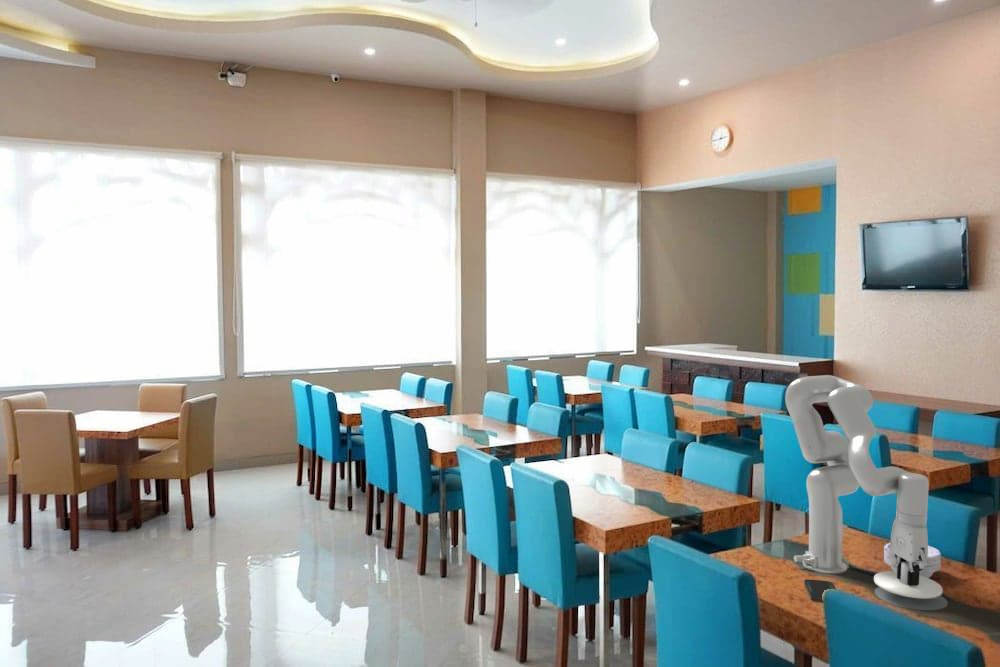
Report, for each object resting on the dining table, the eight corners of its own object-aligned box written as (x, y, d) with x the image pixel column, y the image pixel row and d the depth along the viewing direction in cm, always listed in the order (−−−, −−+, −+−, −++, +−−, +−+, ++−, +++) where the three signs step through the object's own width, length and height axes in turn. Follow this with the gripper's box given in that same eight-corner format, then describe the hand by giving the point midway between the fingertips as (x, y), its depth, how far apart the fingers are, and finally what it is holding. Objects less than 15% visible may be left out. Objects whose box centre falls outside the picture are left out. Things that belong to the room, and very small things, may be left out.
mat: (902, 613, 202) (902, 612, 202) (861, 588, 220) (861, 586, 220) (963, 609, 204) (963, 607, 204) (917, 584, 222) (917, 583, 222)
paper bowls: (873, 566, 237) (873, 541, 237) (918, 564, 239) (919, 539, 239) (904, 584, 222) (904, 558, 222) (952, 582, 224) (953, 556, 224)
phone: (832, 581, 223) (840, 601, 209) (832, 585, 223) (840, 605, 209) (803, 579, 225) (809, 598, 211) (803, 582, 225) (809, 602, 211)
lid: (899, 600, 203) (901, 577, 203) (861, 575, 220) (862, 553, 219) (957, 597, 206) (958, 574, 205) (914, 572, 222) (915, 551, 222)
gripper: (880, 509, 219) (876, 571, 220) (919, 528, 203) (915, 594, 204) (903, 508, 220) (900, 569, 221) (944, 527, 204) (940, 593, 205)
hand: (907, 581), depth 213 cm, fingers closed on lid, 3 cm apart
